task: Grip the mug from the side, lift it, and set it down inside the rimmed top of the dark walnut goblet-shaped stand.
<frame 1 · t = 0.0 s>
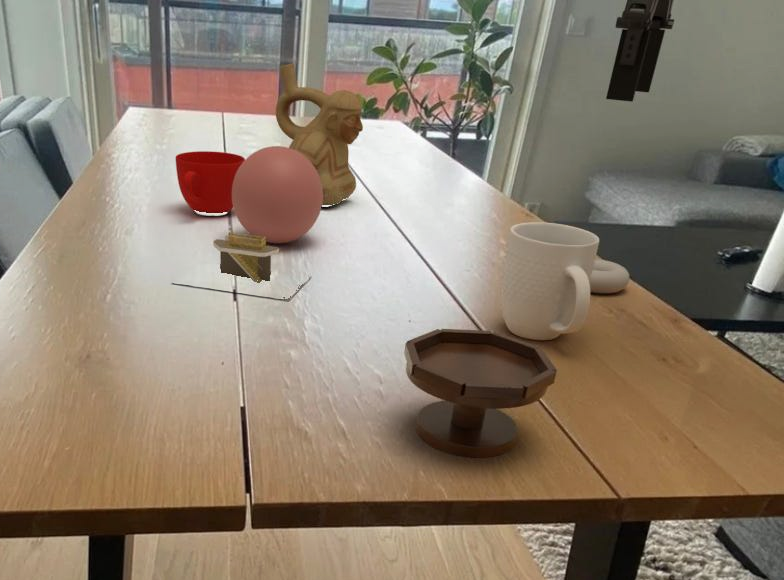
hand: (628, 95, 87), 29 cm above the table, tool pointing down, fingers open, 13 cm apart
ceramic cup: (207, 216, 147), on the table
donut: (592, 287, 121), on the table
ceramic vessel: (314, 202, 161), on the table
goblet stand: (465, 432, 78), on the table
balloon: (279, 239, 135), on the table
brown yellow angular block: (243, 281, 115), on the table
mug: (536, 336, 102), on the table
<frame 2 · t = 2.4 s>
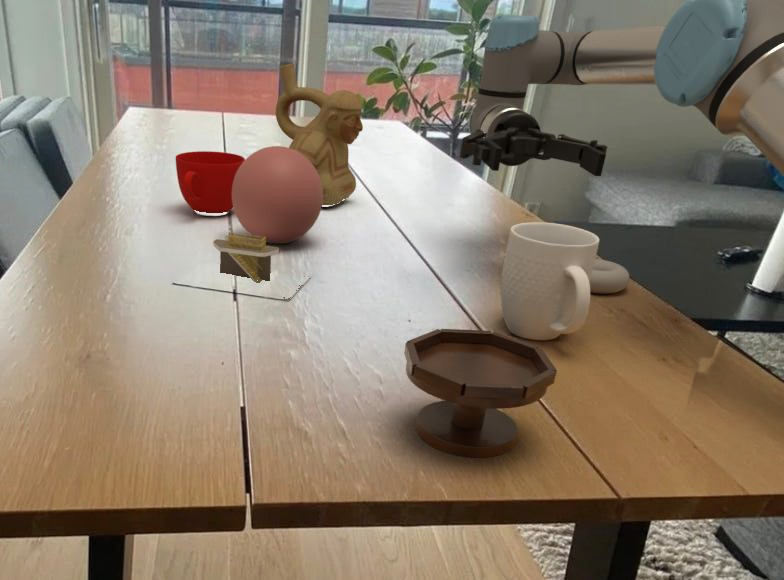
hand: (549, 162, 100), 20 cm above the table, tool horizontal, fingers open, 13 cm apart
nothing on the table moved.
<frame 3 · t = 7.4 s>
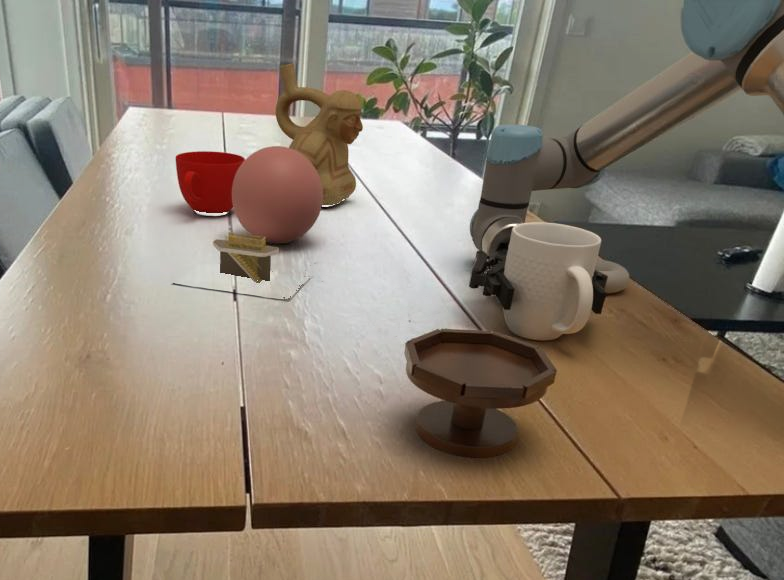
hand: (555, 301, 95), 6 cm above the table, tool horizontal, fingers closed on mug, 11 cm apart
mug: (537, 336, 102), on the table, touching gripper
everything else where it was.
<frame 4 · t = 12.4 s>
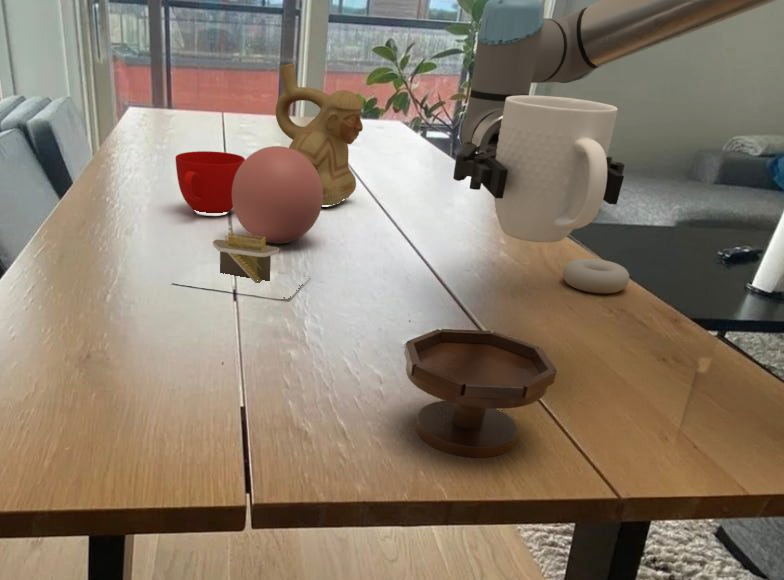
hand: (559, 187, 76), 22 cm above the table, tool horizontal, fingers closed on mug, 11 cm apart
mug: (537, 239, 83), point 16 cm above the table, touching gripper
everything else where it was.
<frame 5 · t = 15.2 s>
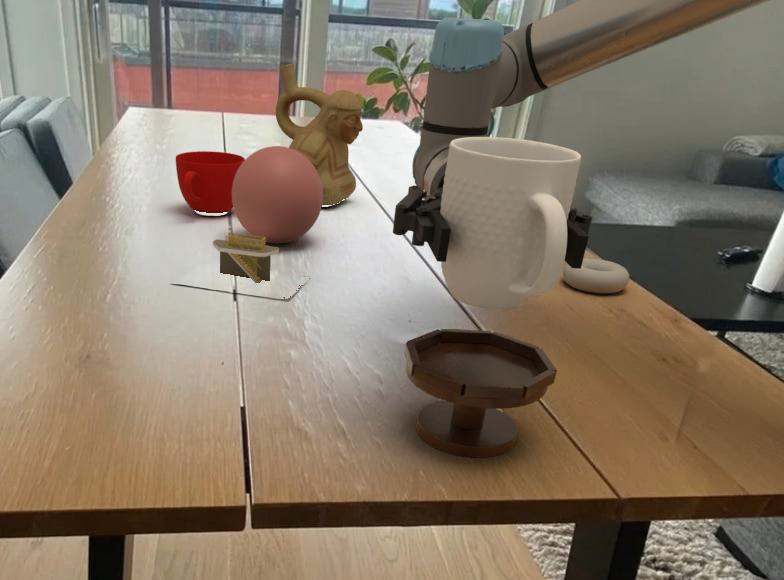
hand: (512, 249, 64), 20 cm above the table, tool horizontal, fingers closed on mug, 11 cm apart
mug: (491, 304, 71), point 14 cm above the table, touching gripper
everything else where it was.
when the fingers open (13 cm above the table, at t = 17.6 s): mug stays where it is, resting on goblet stand.
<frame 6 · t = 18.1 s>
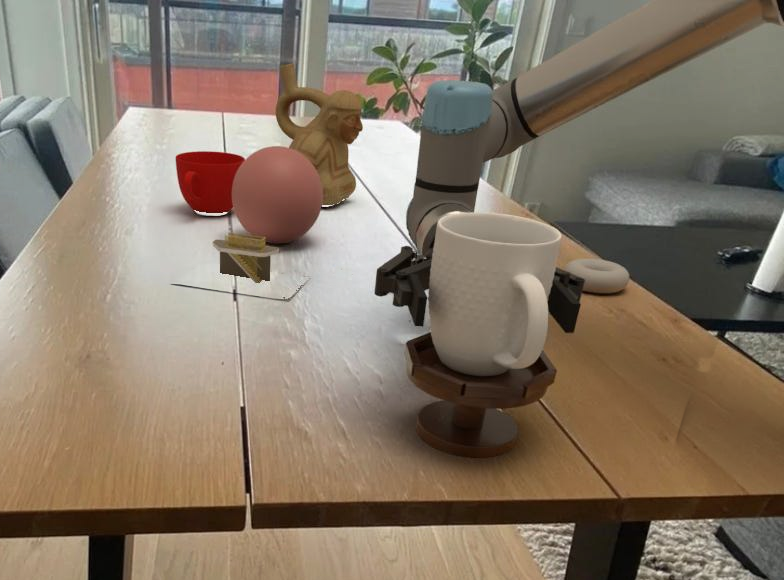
hand: (497, 315, 68), 14 cm above the table, tool horizontal, fingers open, 13 cm apart
mug: (478, 369, 74), point 7 cm above the table, touching goblet stand
everything else where it was.
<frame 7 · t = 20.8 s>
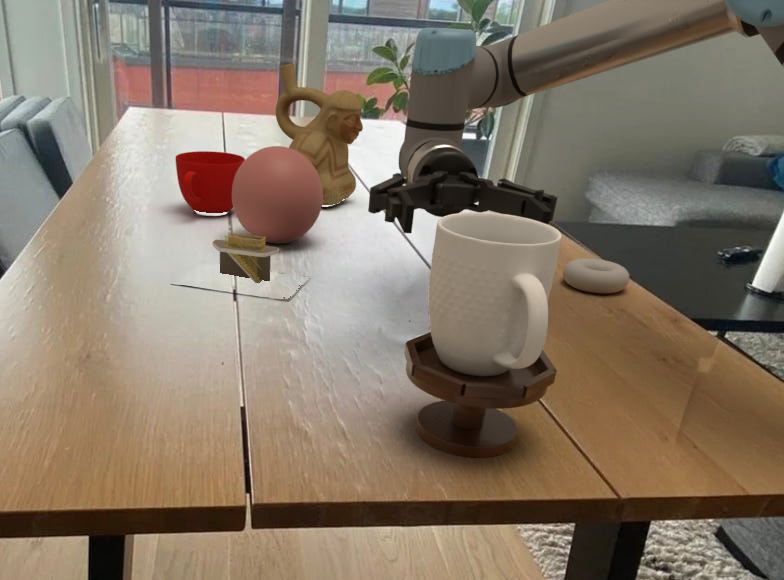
hand: (477, 222, 76), 18 cm above the table, tool horizontal, fingers open, 13 cm apart
nothing on the table moved.
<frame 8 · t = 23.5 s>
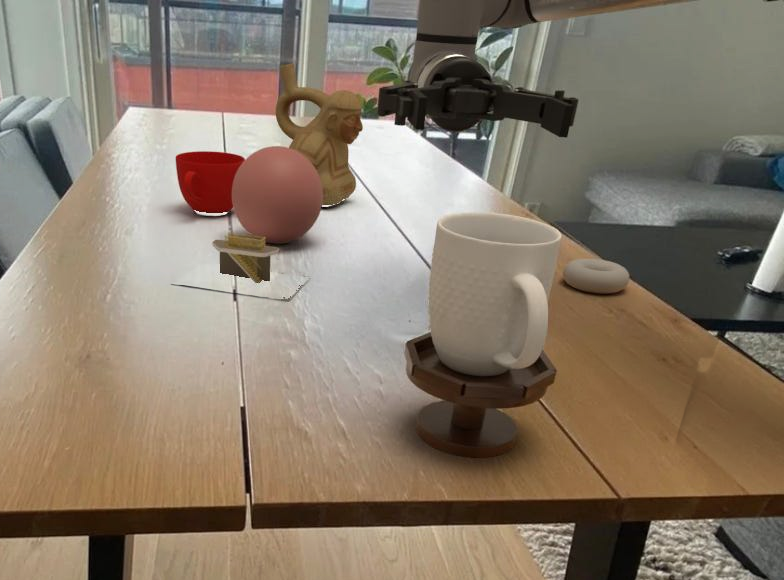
hand: (494, 117, 71), 28 cm above the table, tool horizontal, fingers open, 13 cm apart
nothing on the table moved.
at the end: mug 0.2 cm off-centre on the goblet stand, point 7.0 cm above the goblet stand's base; mug tilted 0°; the gripper is holding nothing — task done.
